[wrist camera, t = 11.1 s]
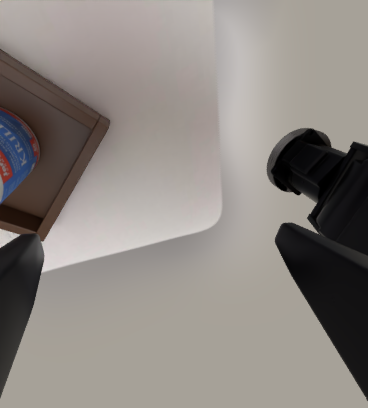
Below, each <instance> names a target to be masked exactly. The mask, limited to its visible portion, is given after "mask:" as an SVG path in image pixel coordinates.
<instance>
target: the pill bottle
mask: <svg viewBox="0 0 368 408" xmlns="http://www.w3.org/2000/svg"><path fill="white" fill-rule="evenodd" d="M39 156H40V148H39V143H38V141H37V138H36V136H35V134H34V133H33V131H32V130H31V128H30V127H29V126H28V125H27V124H26V123H25V122H24V121H23V120H22V119H21V118H19V117H18V116H17V115H15V114H14V113H12V112H10V111H8V110H6V109H4V108H1V107H0V204H1V203H2V202H3V201H4V200H5V199H6V198H7V197H8V196H9V195H10V194H11V193H12V192H13V191H14V190H15V189H16V188H17V186H18V185H19V184H20V183H21V182H22V181H23V180H24V179H25V178H26V177H27V176H28V175H29V174H30V173H31V172H32V170H33V169H34V168H35V167H36V165H37V163H38V160H39Z"/></svg>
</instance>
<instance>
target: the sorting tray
mask: <svg viewBox="0 0 368 408" xmlns="http://www.w3.org/2000/svg"><path fill="white" fill-rule="evenodd" d="M0 107H1V108H4V109H6V110H8V111H10V112H12V113H14V114H15V115H17V116H18V117H19V118H21V119H22V120H23V121H24V122H25V123H26V124H27V125H28V126H29V127H30V128H31V130H32V131H33V133H34V134H35V136H36V138H37V141H38V143H39V148H40V156H39V160H38V163H37V165H36V167H35V168H34V169H33V170H32V172H31V173H30V174H29V175H28V176H27V177H26V178H25V179H24V180H23V181H22V182H21V183H20V184H19V185H18V186H17V188H16V189H15V190H14V191H13V192H12V193H11V194H10V195H9V196H8V197H7V198H6V199H5V200H4V201H3V202H2V203H1V204H0V229H4V230H7V231H10V232H13V233H17V234H20V235H22V234H32V233H36V234H38V235H39V236H40V239H41V241H44V239H45V238H46V236H47V234H48V233H49V231H50V229H51V227H52V226H53V224H54V222H55V220H56V219H57V217H58V215H59V213H60V212H61V210H62V208H63V206H64V205H65V203H66V201H67V200H68V198H69V196H70V194H71V193H72V191H73V189H74V187H75V186H76V184H77V182H78V180H79V179H80V177H81V175H82V173H83V172H84V170H85V168H86V167H87V165H88V163H89V161H90V160H91V158H92V156H93V154H94V153H95V151H96V149H97V147H98V146H99V144H100V142H101V140H102V139H103V137H104V135H105V134H106V132H107V130H108V128H109V124H110V120H108V119H107V118H105V117H104V116H102V115H100V114H99V113H97V112H96V111H94V110H93V109H91V108H90V107H88V106H87V105H85V104H84V103H82V102H80V101H79V100H77V99H76V98H74V97H73V96H71V95H70V94H68V93H67V92H65V91H64V90H62V89H60V88H59V87H57V86H56V85H54V84H53V83H51V82H50V81H48V80H47V79H45V78H43V77H42V76H40V75H39V74H37V73H36V72H34V71H33V70H31V69H30V68H28V67H27V66H25V65H23V64H22V63H20V62H19V61H17V60H16V59H14V58H13V57H11V56H10V55H8V54H7V53H5V52H3V51H2V50H0Z"/></svg>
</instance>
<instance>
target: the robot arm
mask: <svg viewBox="0 0 368 408" xmlns="http://www.w3.org/2000/svg"><path fill="white" fill-rule="evenodd" d="M309 133H310V134H309ZM350 147H351V148H350V150H349V152H348V153H344V152H342V151H339V150H336V149H334V148H331V147H328V146H327V144H326V143H325V142H324V141H323V139H322V138H321V137H320V136H319V134H318V133H317V132H316V131H315V130H314V129H312V128H308V129H307V130H306V131H305V132H304V133H303V134H302V135H301V137H300V138H299V139H298V140H297V141H296V142H295V143H294V144H293V146H292V147H291V148H290V149H289V150H288V151H287V152H286V153H285V154H284V156H283V157H282V158H281V159H280V160H279V161H278V162H277V163H276V164H275V166H274V167H273V168H272V169H271V171H270V172H271V174H272V175H273V176H274V177H276V178H277V179H278V180H279V181H280V182H281V183H283V184H284V185H285V186H286V187H287V188H288V189H290V190H291V191H292V192H293V193H294V194H296V195H300V194H301V193H303V194H304V195H306V196H307V197H309V198H310V199H312V200H313V201H315V202H316V203H317V204H316V206H315V207H314V209H313V211H312V212H311V214H309V216H308V217H307V219H308V220H309V222H310V223H311V224H312V225H313V227H314V228H315V229H316V230H317V232H318V233H319V234H320V235H319V234H317V233H314V232H312V231H310V230H308V229H306V228H303V227H301V226H299V225H296V224H294V223H283V224H282V225H281V226H280V228H279V230H278V233H277V235H276V237H275V243H276V245H277V248H278V249H279V252H280V254H281V256H282V258H283V260H284V262H285V264H286V266H287V268H288V270H289V272H290V274H291V276H292V277H293V279H294V280H295V282H296V284H297V286H298V287H299V289H300V291H301V292H302V294H303V295H304V297H305V299H306V300H307V302H308V304H309V305H310V307H311V309H312V310H313V312H314V313H315V315H316V317H317V318H318V320H319V322H320V323H321V325H322V327H323V328H324V330H325V331H326V333H327V335H328V336H329V338H330V340H331V341H332V343H333V345H334V346H335V348H336V349H337V351H338V353H339V354H340V356H341V358H342V359H343V361H344V362H345V364H346V366H347V367H348V369H349V371H350V372H351V374H352V375H353V377H354V379H355V381H356V382H357V384H358V386H359V387H360V389H361V390H362V392H363V393H364V395H365V397H367V398H366V399H367V401H368V145H365V144H361V143H357V142H353V143H352V145H351V146H350ZM275 170H276V171H275ZM274 171H275V172H274ZM43 262H44V251H43V247H42V243H41V239H40V236H39V235H38V234H36V233H32V234H22V235H20V236H18V237H17V238H15V239H14V240H12V241H10V242H9V243H7V244H6V245H4V246H3V247H1V248H0V397H1V395H2V392H3V389H4V386H5V383H6V381H7V378H8V375H9V372H10V369H11V367H12V364H13V361H14V359H15V356H16V353H17V350H18V347H19V345H20V342H21V339H22V336H23V333H24V331H25V328H26V325H27V323H28V320H29V317H30V314H31V311H32V308H33V305H34V301H35V297H36V292H37V288H38V284H39V280H40V275H41V271H42V267H43Z"/></svg>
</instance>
